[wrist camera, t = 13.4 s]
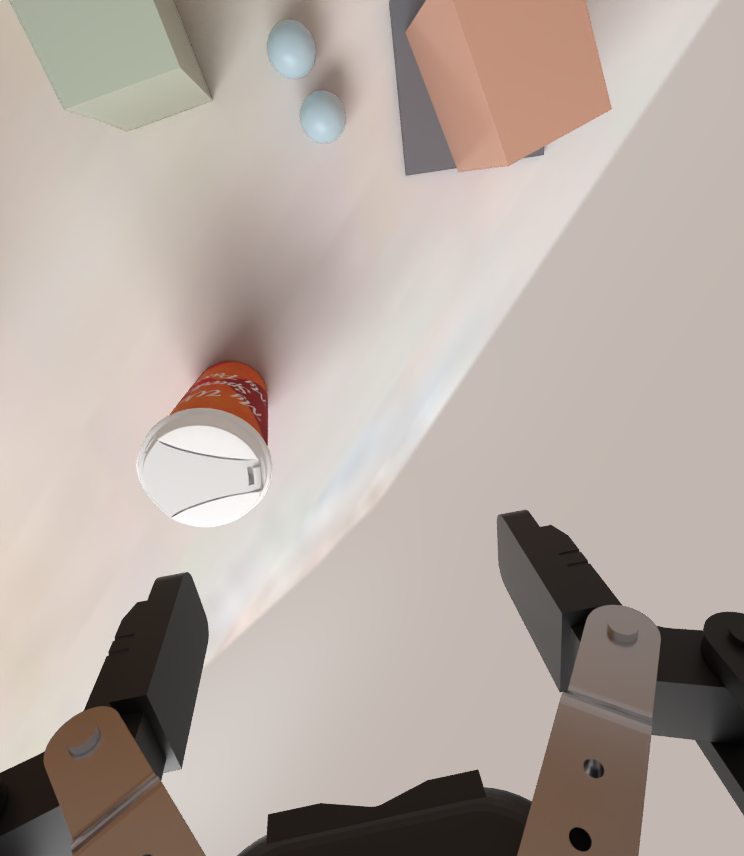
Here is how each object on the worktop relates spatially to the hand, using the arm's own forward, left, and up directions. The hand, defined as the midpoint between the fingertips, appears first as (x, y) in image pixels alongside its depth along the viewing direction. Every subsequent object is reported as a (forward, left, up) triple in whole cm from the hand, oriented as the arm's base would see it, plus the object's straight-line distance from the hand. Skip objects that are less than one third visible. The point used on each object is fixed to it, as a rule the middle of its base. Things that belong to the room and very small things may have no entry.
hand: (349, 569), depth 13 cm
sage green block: (-8, +19, -30) cm, 36 cm away
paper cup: (-8, -5, -30) cm, 32 cm away
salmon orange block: (+13, +14, -30) cm, 35 cm away
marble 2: (+3, +13, -30) cm, 33 cm away
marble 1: (+1, +17, -30) cm, 35 cm away
